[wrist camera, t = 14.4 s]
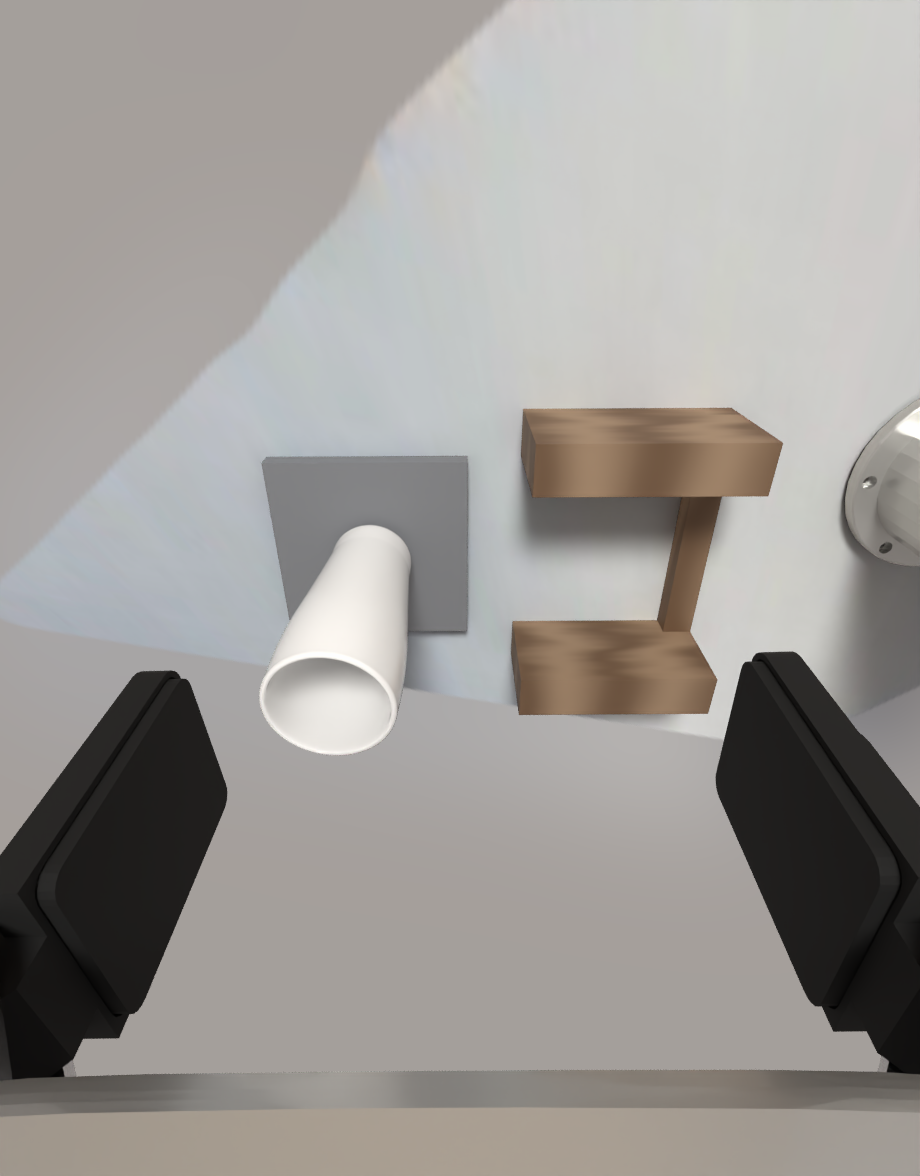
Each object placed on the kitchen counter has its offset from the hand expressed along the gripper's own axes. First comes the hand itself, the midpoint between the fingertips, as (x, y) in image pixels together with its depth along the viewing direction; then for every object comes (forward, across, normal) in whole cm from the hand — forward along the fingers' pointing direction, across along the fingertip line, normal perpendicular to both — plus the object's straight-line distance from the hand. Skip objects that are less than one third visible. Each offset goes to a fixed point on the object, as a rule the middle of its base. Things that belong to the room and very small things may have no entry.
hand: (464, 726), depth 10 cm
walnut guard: (+31, -9, +12) cm, 34 cm away
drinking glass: (+29, +7, +12) cm, 32 cm away
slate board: (+30, +7, +12) cm, 33 cm away
